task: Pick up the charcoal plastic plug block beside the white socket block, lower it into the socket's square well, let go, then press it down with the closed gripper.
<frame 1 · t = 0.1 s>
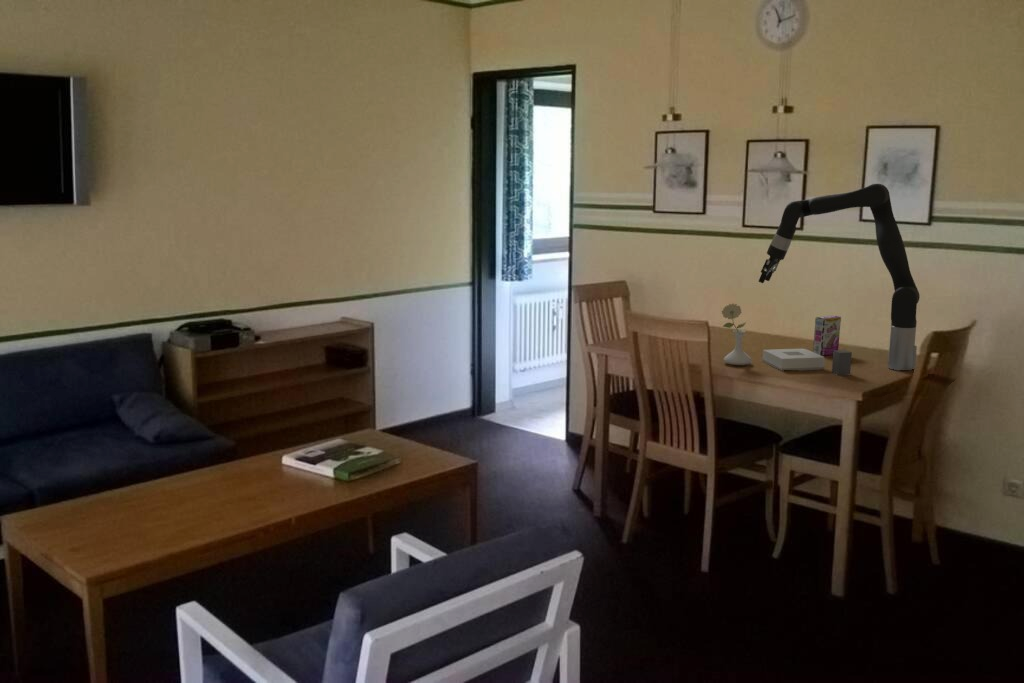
hand: (763, 281, 398), 31 cm above the table, tool tilted 20°, fingers open, 8 cm apart
plug: (840, 373, 366), on the table
socket: (792, 365, 381), on the table
flower in vase: (735, 364, 383), on the table
candy bar box: (825, 354, 403), on the table
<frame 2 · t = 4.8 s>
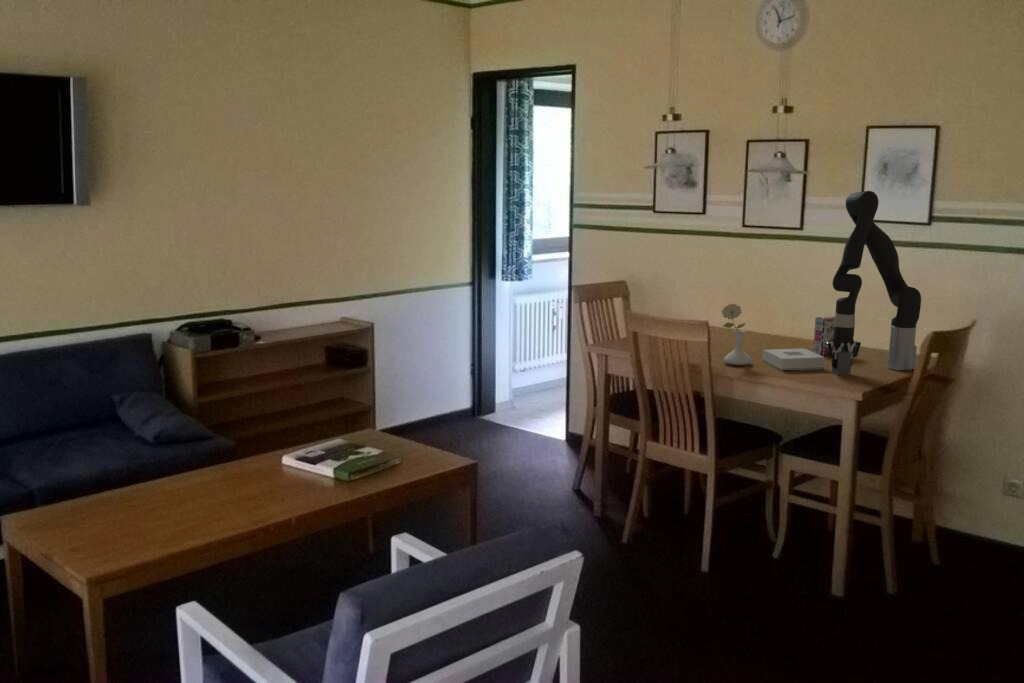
hand: (841, 367, 366), 2 cm above the table, tool pointing down, fingers closed on plug, 5 cm apart
plug: (841, 373, 366), on the table, touching gripper
everything else where it was.
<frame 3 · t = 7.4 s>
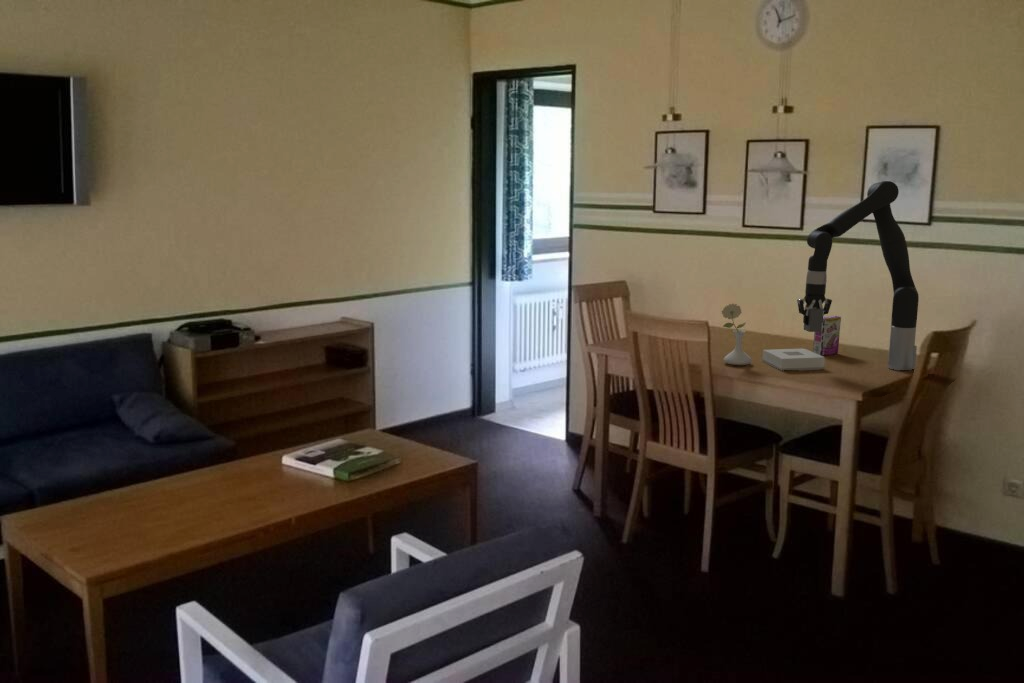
hand: (812, 324, 371), 18 cm above the table, tool pointing down, fingers closed on plug, 5 cm apart
plug: (812, 330, 372), point 16 cm above the table, touching gripper
everything else where it was.
when the fingers open (6 cm above the table, at t = 10.0 s): plug drops 2 cm, resting on socket.
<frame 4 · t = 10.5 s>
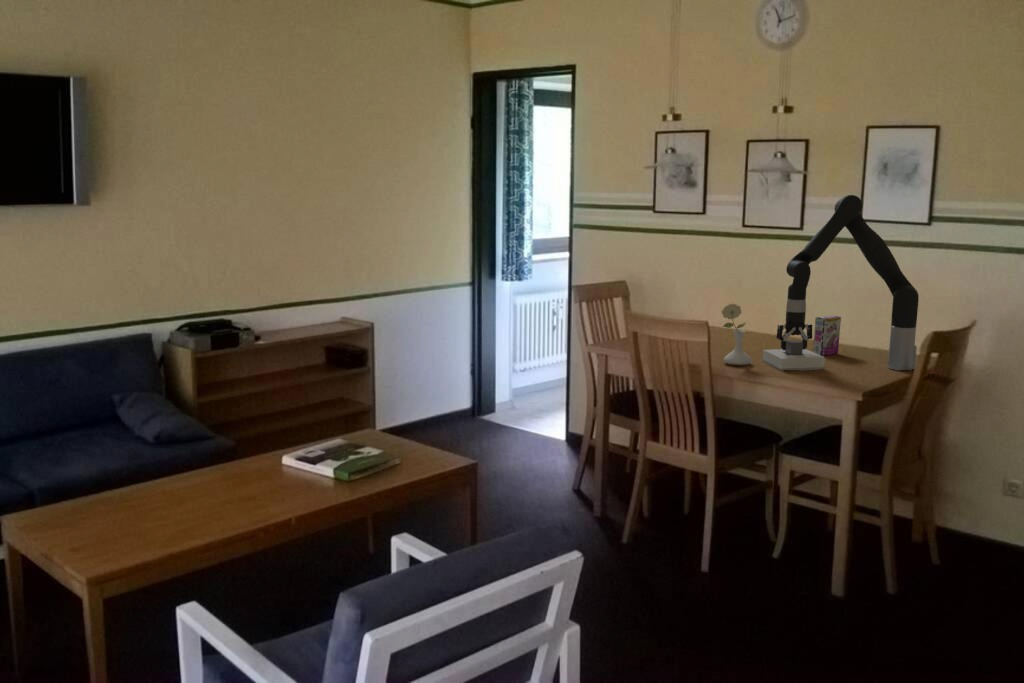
hand: (793, 349, 380), 7 cm above the table, tool pointing down, fingers open, 8 cm apart
plug: (793, 363, 381), point 1 cm above the table, touching socket
everything else where it was.
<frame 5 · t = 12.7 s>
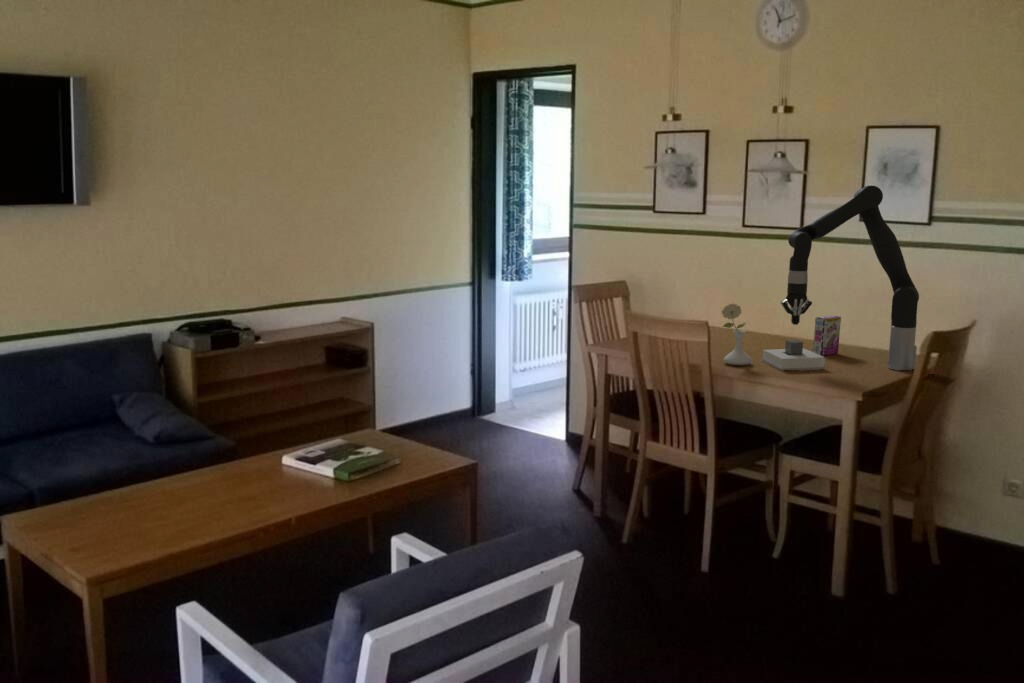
hand: (795, 324, 378), 17 cm above the table, tool pointing down, fingers closed
nothing on the table moved.
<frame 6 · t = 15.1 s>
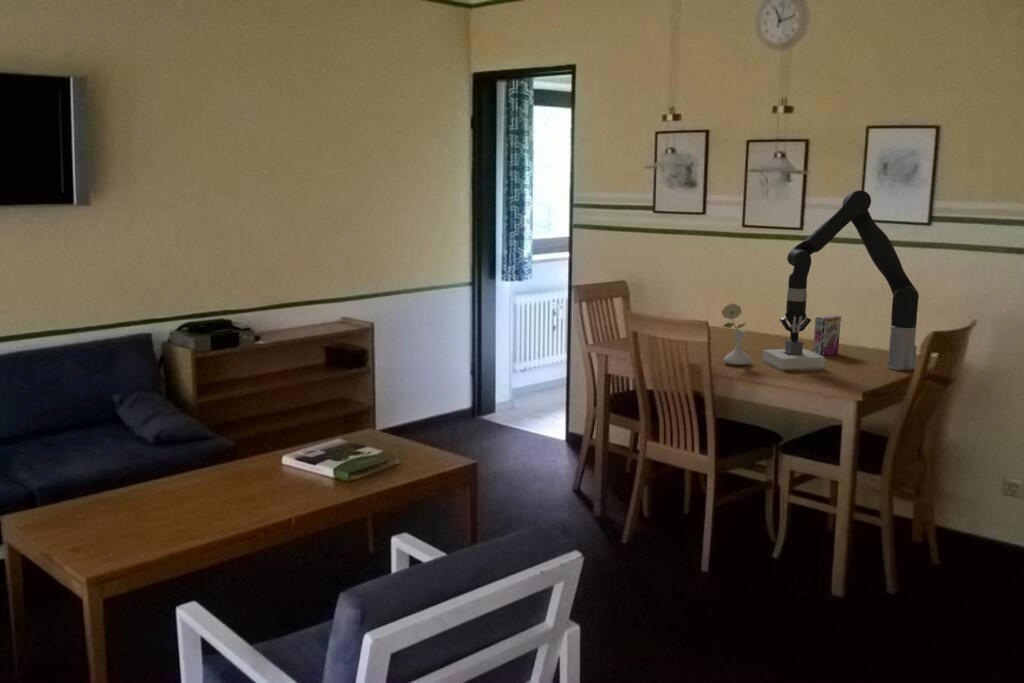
hand: (794, 341, 379), 10 cm above the table, tool pointing down, fingers closed
plug: (793, 363, 381), point 1 cm above the table, touching gripper, socket
everything else where it was.
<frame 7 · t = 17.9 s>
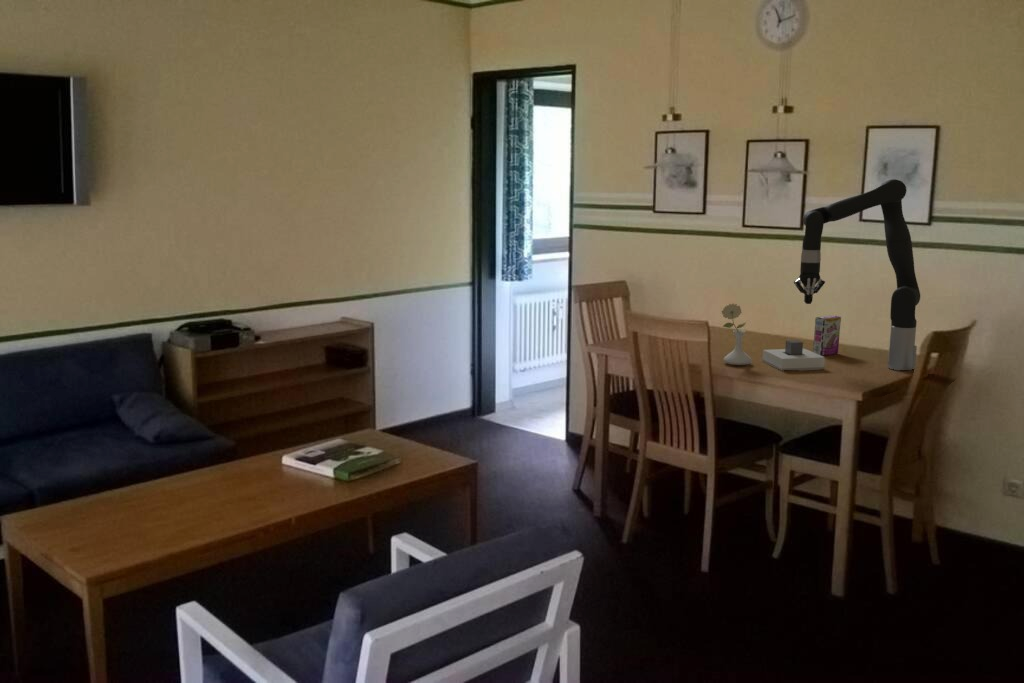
hand: (808, 303, 379), 25 cm above the table, tool pointing down, fingers closed
plug: (793, 363, 381), point 1 cm above the table, touching socket
everything else where it was.
at the end: plug 0.1 cm off-centre on the socket, point 1.0 cm above the socket's base; plug tilted 0°; the gripper is holding nothing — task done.
